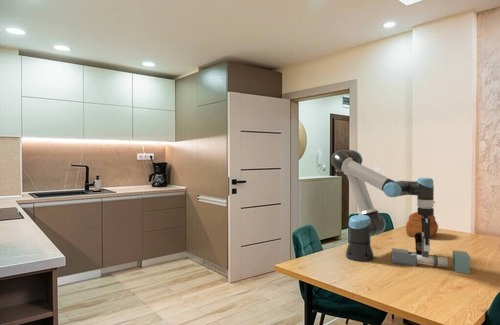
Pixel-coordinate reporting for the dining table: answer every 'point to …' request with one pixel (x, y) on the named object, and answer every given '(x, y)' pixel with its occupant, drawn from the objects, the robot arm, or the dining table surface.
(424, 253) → the tube
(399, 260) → the sleeve
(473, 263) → the dining table surface
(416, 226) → the bread
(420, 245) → the coffee cup
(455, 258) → the socket
